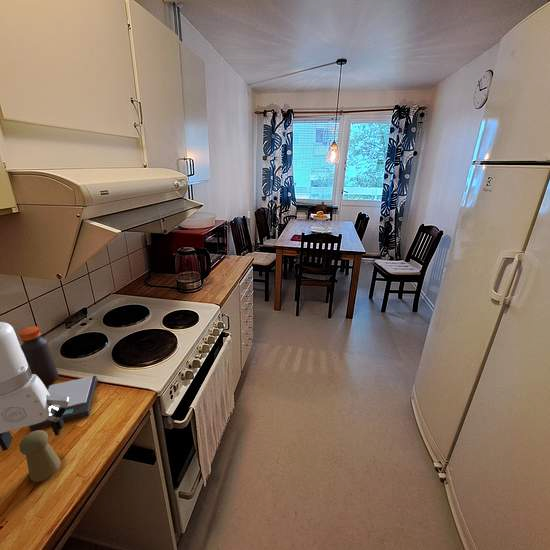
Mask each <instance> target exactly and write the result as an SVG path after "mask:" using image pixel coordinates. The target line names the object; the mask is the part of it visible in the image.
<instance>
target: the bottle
mask: <svg viewBox="0 0 550 550" xmlns="http://www.w3.org/2000/svg"><path fill="white" fill-rule="evenodd" d="M18 335H19V338H20V341H22V344H20V346H21V348H22V351H23V353H24V356H25V358H26V361H27V363H28V365H29V367H30V370H31V372H32V374H36V375H37V376H38V377H39V379H40V380H41V381H42V382H43V384H44V385H45V387H47V386H50V385H53V383H55V382H56V381H57V380H58V379H59V377H60V376H59V372H58V369H57V366H56V363H55V360H54V357H53V354H52V351H51V348H50V345H49V342H48V340H47V338H45V337H43V336H41V335H42V333H41V330H40V327H39V326H30V327H26V328H23V329H21V330H20V331H19V332H18Z"/></svg>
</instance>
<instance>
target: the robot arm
mask: <svg viewBox="0 0 550 550" xmlns="http://www.w3.org/2000/svg"><path fill="white" fill-rule="evenodd" d="M46 388H47V386H45V385H44V384H43V382H42V381H41V380H40V379H39V377H38V376H37V375H36V374H32V372H31V370H30V367H29V365H28V363H27V361H26V358H25V356H24V353H23V351H22V348H21V344H20V340H19V339H18V336H17V334H16V331H15V329H14V327H13V326H12V325H11V324H10V323H8V322H5V321H4V322H3V321H0V448H1V450H2V451H3V452H6V451H8V449H10V446H11V445H12V444H11V443H12V442H13V440H14V438H13V435H12V433H11V432H12V431H15V430H18V429H22V428H26V427H29V426H30V425H34V424H37V423H40V422H43V421H45V420H46V419H47V420H50V421H52V422H51V426H50V427H51V429H52V431H53V433H54V436H56V437H58V436H60V434H61V431H62V429H64V428H65V427H64V426H65V422H63V419H62V417H61V416H62V415H63V414H64V412H65V411H66V408H67V405H68V402H69V399H70V398H69V397H57V396H50V394H49V392H48V391H47V389H46ZM53 405H60V407H59V408H56V407H54V406H53ZM50 412H51V413H54V415H53V414H50Z"/></svg>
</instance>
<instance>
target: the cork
mask: <svg viewBox="0 0 550 550" xmlns="http://www.w3.org/2000/svg"><path fill="white" fill-rule="evenodd" d="M49 440H50V439H49V434H48V433H47V432H46V431H45V430H42V429H37V430H34V431H30V432H29V433H28V434H26V435H25V436H24V437H23V438H22V439H21V441H20V443H19V448H18V449H19V451H20V453H21V454H22V455H24V456H25V458H26V463H27V468H28V475H29V480H31V482H34V483H38V482H39V483H40V482H42V481H45V480H47V479H48V478H50V477H52V476H53V475H55V473H57V471H58V470H59V468H60V467H61V463H62V462H61V459H60V457H59V456H58V454H57V453H56V452H55V450H54V449H53V448H52V446H51V444H50V443H49Z"/></svg>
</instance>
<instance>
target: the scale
mask: <svg viewBox="0 0 550 550" xmlns="http://www.w3.org/2000/svg"><path fill="white" fill-rule="evenodd" d="M98 381H99V379H98V376H97V375H91V376H86V377H82V378H77V379H72V380H68V381H64V382H59V383H54V384H50V385H47V386H46V389H47V391H48V392H49V394H50V396H57V397H69V398H70V399H69V402H68V405H67V408H66V411H65V412H64V414H63V415H62V416H61V417H62V419H63V422H64V423H68V422H70V421H74V420H78V419H82V418H86V417H89V416H90V414H91V409H92V406H93V402H94V397H95V393H96V389H97V386H98V385H97V384H98ZM53 406H54V407H56V408H59V407H60V405H53ZM50 414H53V415H54V413H51V412H50ZM51 422H52V421H50V420H47V419H46V420H45V421H43V422H40V423H37V424H34V425H30V426H28V427H29V429H30V432H33V431H37V430H42V429H45V428H48V427H52V426H51Z"/></svg>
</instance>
